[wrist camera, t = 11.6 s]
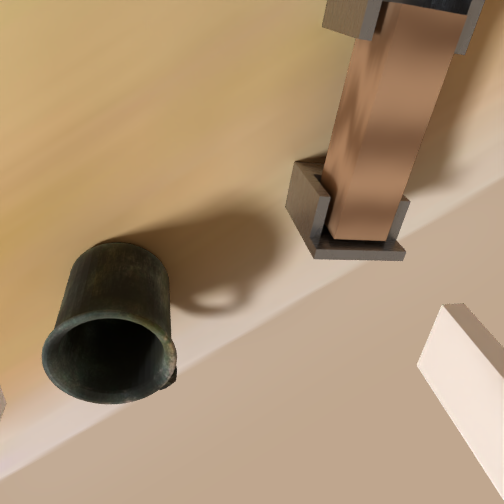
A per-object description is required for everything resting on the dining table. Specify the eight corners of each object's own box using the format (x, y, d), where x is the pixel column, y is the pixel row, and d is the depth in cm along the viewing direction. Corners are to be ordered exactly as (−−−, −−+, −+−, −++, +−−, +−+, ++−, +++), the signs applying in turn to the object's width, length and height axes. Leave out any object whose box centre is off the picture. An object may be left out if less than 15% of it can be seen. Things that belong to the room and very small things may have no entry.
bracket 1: (336, -44, 34) (394, -50, 25) (432, -26, 36) (514, -25, 27) (322, 26, 36) (370, 43, 28) (411, 40, 38) (481, 59, 30)
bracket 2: (294, 161, 43) (327, 207, 34) (372, 167, 45) (421, 211, 36) (285, 206, 45) (313, 259, 37) (359, 210, 47) (402, 260, 39)
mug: (129, 216, 43) (120, 290, 33) (208, 305, 51) (220, 387, 41) (42, 270, 44) (9, 356, 34) (132, 348, 52) (127, 437, 42)
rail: (365, -2, 33) (402, 3, 28) (422, 9, 34) (467, 15, 29) (313, 207, 42) (334, 239, 37) (359, 210, 44) (385, 241, 39)
